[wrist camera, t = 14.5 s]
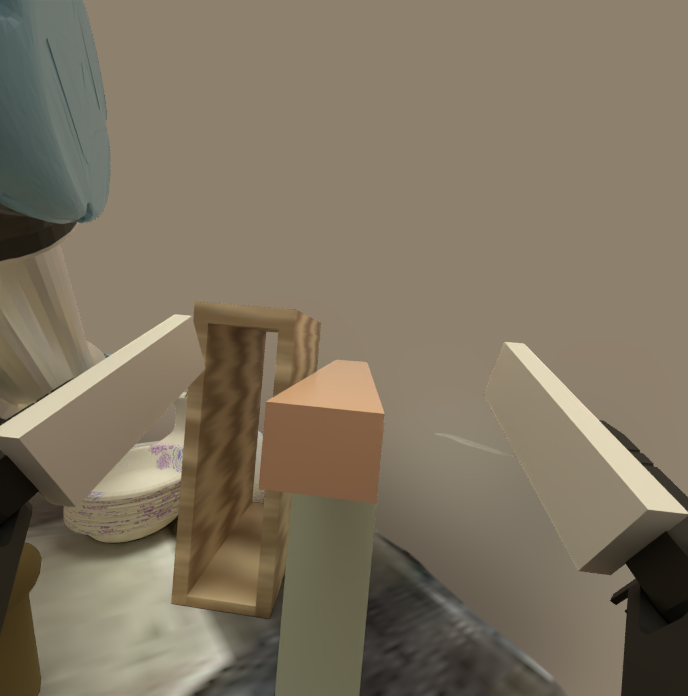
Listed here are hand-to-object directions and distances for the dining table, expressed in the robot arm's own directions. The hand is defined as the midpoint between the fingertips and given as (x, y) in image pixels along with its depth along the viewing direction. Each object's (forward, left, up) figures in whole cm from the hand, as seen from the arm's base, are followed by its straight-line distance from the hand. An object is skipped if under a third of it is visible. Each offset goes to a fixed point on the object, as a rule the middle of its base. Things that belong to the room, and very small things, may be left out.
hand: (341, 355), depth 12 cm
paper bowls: (-35, -13, -27) cm, 46 cm away
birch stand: (-24, +1, -27) cm, 36 cm away
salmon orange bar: (-9, +5, -5) cm, 11 cm away
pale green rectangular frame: (-14, +8, -27) cm, 31 cm away
